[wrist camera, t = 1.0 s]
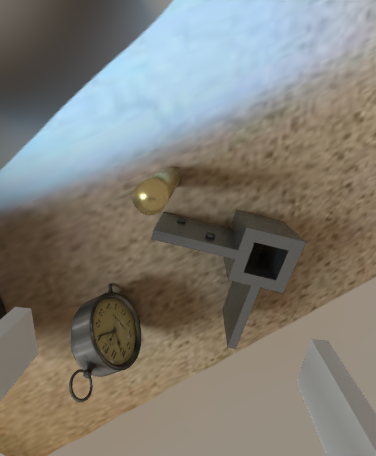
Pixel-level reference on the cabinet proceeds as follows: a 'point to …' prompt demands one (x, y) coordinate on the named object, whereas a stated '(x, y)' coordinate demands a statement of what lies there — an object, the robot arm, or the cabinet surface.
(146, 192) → the hinge pin
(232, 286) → the hinge leaves
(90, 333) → the alarm clock
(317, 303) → the cabinet surface
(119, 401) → the cabinet surface
